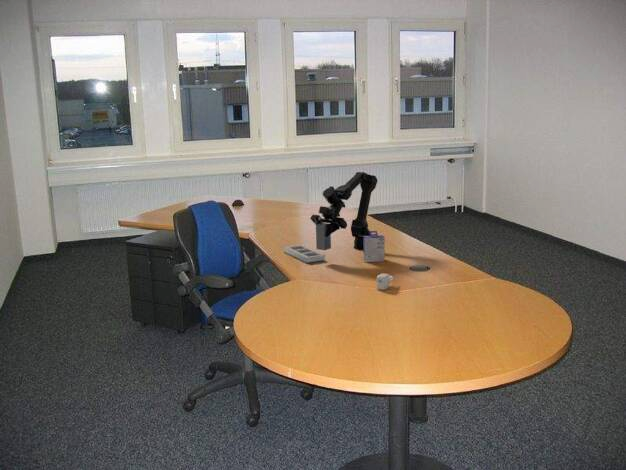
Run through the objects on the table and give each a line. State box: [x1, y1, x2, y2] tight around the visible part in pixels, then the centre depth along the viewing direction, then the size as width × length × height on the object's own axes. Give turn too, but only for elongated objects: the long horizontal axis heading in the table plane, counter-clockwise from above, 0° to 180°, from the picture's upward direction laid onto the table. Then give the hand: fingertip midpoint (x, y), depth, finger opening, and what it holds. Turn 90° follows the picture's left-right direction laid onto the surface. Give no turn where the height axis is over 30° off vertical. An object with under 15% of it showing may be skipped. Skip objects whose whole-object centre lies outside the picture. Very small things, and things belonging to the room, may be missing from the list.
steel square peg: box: [315, 223, 332, 251], centre depth 294 cm, size 5×5×12 cm
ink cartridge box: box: [363, 230, 386, 263], centre depth 296 cm, size 10×6×14 cm, turn 95°
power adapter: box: [375, 272, 395, 291], centre depth 255 cm, size 11×5×6 cm, turn 150°
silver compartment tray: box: [283, 244, 326, 265], centre depth 308 cm, size 26×10×3 cm, turn 27°
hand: (321, 235), depth 293 cm, fingers closed on steel square peg, 5 cm apart
